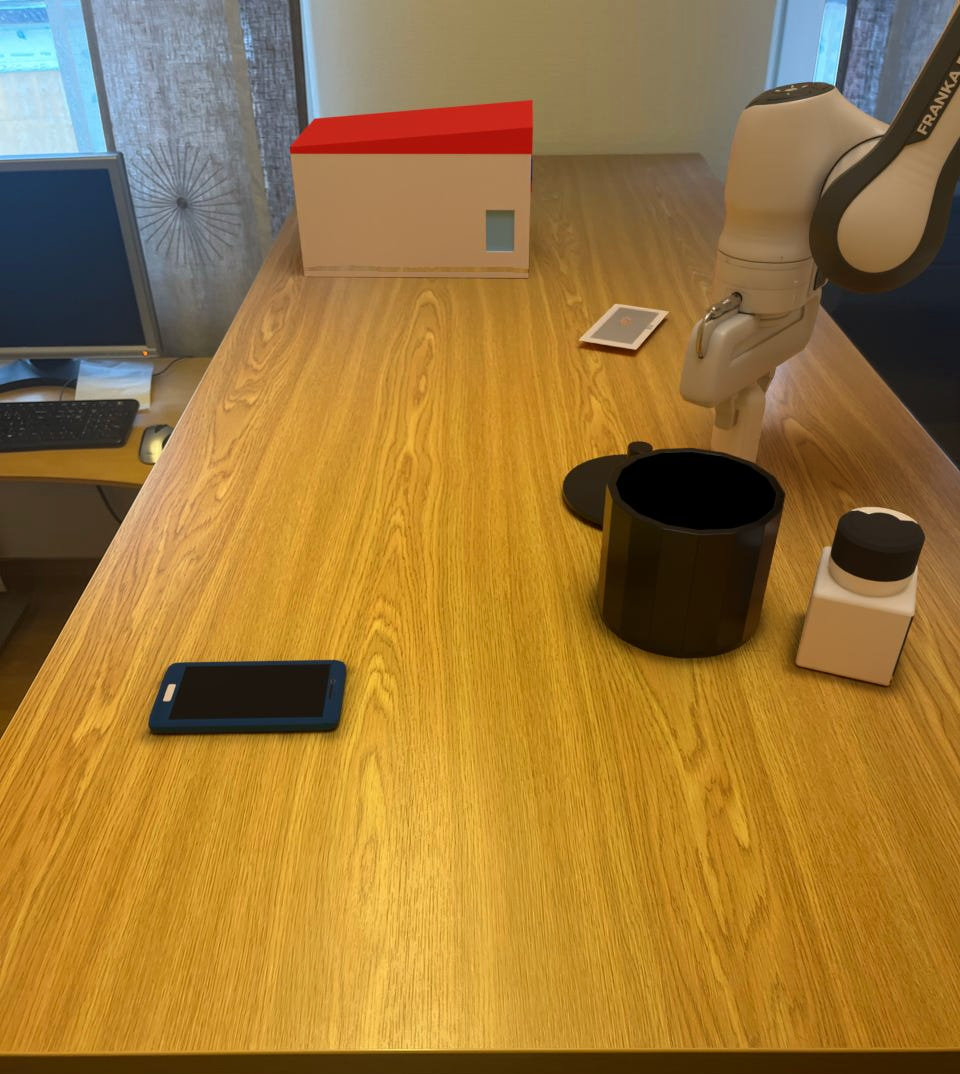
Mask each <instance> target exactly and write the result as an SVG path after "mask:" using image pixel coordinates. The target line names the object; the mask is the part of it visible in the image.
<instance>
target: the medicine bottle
mask: <svg viewBox="0 0 960 1074" xmlns="http://www.w3.org/2000/svg"><path fill="white" fill-rule="evenodd" d="M925 541H926V534H925V531H924V530H923V528H922V526H921V525H920V523H918V522H917V521H916V519H914V518H912V517H911V516H910V515H907V514H905V513H902V512H900V511H897V510H894V509H890V508H885V507H878V506H863V507H858V508H854V509H850V510H849V511H847V512H846V513H844V514H843V515H841V516H840V517H839V519H838V521H837V526H836V529H835V533H834V537H833V540H832V545H831V546H830V545H829V546H828V545H826V546H823V548H822V550H821V553H820V557H819V561H818V565H817V569H816V573H815V576H814V581H813V585H812V589H811V593H810V597H809V601H808V604H807V608H806V612H805V617H804V621H803V626H802V630H801V636H800V639H799V644H798V647H797V653H796V657H795V664H796V665H797V666H798V667H800V668H801V667H802V668H806V669H811V670H815V671H819V672H822V673H828V674H832V675H837V676H841V677H846V678H851V679H855V680H859V681H863V682H868V683H873V684H875V685H876V684H877V685H882V686H890V685H891V684H892V683H893V679H894V677H895V674H896V670H897V668H898V666H899V662H900V659H901V657H902V656H901V655H902V653H903V650H904V648H905V644H906V641H907V638H908V636H909V632H910V629H911V626H912V623H913V620H914V618H915V615H916V614H915V613H916V600H917V589H918V588H917V587H918V574H919V565H918V562H919V559H920V556H921V554H922V550H923V547H924V544H925Z"/></svg>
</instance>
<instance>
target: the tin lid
mask: <svg viewBox="0 0 960 1074" xmlns="http://www.w3.org/2000/svg"><path fill="white" fill-rule="evenodd" d="M653 450H654V447H653V445H652V444H651V443H649V442H646V441H642V440H637V441H632V442H629V443H628V445H627V449H626V453H620V454H609V455H603V456H599V457H595V458H590V459H589V460H586V461H584V462H581V463H579V464H577V465H576V466H574V467H573V468H572V469H570V471H569V472H568V473H567V474H566V475H565V477H564V479H563V481H562V489H561V490H562V496H563V500H564V501H565V503H566V504H567V506H568V507H569V508H570V509H571V510H572V511H573V512H574V513H575V514H577V515H578V516H580V517H581V518H583V519H585V520H587V521H589V522H592V523H594V524H597V525H599V526H602V527H603V521H604V510H605V498H606V486H607V482H608V480H609V477H610V475H611V473H612V471H613V469H614V468H615V467H616V466H618V465H619V464H621V463H622V462H624V461H626V460H627V459H629V458H630V457H632V456H634V455H638V454H642V453H646V452H650V451H653Z"/></svg>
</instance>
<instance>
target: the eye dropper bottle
mask: <svg viewBox="0 0 960 1074" xmlns="http://www.w3.org/2000/svg"><path fill="white" fill-rule="evenodd" d="M756 381H757V380H756ZM756 381H754V382H753V383H751V384H749V385H748V386H746V387H745V388H743V389H742V390H740V391H739V392H738V397H737V399H735V400H734V404H735V409H736V410H739V413H738V418H737V424H736V425H735V426H733V427H732V428H731V429H729V430H723V429H720V428H717V427H716V426H715V424H714V422H715V417H714V418H713V426H712V433H711V440H710V450H711V451H718V452H724V453H727V454H730V455H733V456H736V457H739V458H742V459H745V460H748V461H751V462H753V463H755V464H756V461H757V457H758V451H759V446H760V440H761V434H762V428H763V422H764V416H765V411H766V403H767V402H766V401H767V400H766V399H767V398H766V394H765V395H764V392H763V390H762V389H761V387H760V386H759V384H758V383H757V382H756ZM715 415H716V410H715V411H714V416H715Z"/></svg>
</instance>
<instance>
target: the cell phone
mask: <svg viewBox="0 0 960 1074" xmlns="http://www.w3.org/2000/svg"><path fill="white" fill-rule="evenodd" d="M346 680H347V666H346V663H345V662H344V661H342V660H339V659H302V660H301V659H298V660H296V659H295V660H293V659H292V660H290V659H289V660H243V661H242V660H239V661H237V660H236V661H235V660H233V661H182V662H181V661H180V662H179V661H178V662H174V663H173V662H172V663H171V664H170V665H168V667H167V669H166V671H165V672H164V674H163V678H162V681H161V683H160V686H159V688H158V691H157V694H156V696H155V700H154V701H153V706H152V708H151V710H150V713H149V716H148V723H147V725H148V728H149V730H150V732H151V733H154V734H192V733H193V734H198V733H200V734H203V733H205V734H206V733H258V732H259V733H260V732H263V733H264V732H313V731H316V732H319V731H331V730H332V729H335V728H337V727H338V725H339V722H340V721H341V716H342V708H343V702H344V693H345V687H346Z"/></svg>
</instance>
